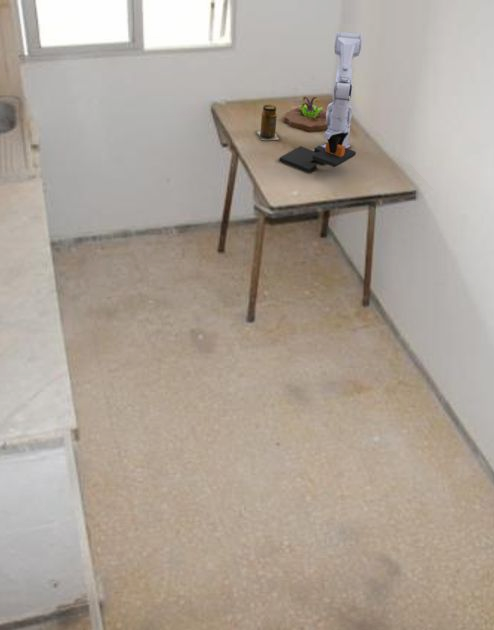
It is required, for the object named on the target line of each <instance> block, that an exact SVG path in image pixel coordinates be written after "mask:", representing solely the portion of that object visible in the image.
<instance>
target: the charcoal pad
mask: <svg viewBox="0 0 494 630" xmlns="http://www.w3.org/2000/svg"><path fill="white" fill-rule="evenodd" d="M325 144H326V147H325V148H324V147H322V146H323V145H317V146H316V147H314V148H313V151H314V152H316V154H314V155H313V158H312V159H314V160H317V161H319V162H322V163H324V164H323V165H327V166H330V167H332V168H336V167H338V166H340V165H342V164H343V163H345V162H347V161H348V160H350V159H352V158H354V157H355V156H356V154H357V152H356V151H355V150H352V149H350V148H345V146H342V145H340V144H338V145H337V150H336V152H335V153H331V152H330V149H329V143H328V142H327V143H326V142H325Z"/></svg>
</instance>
